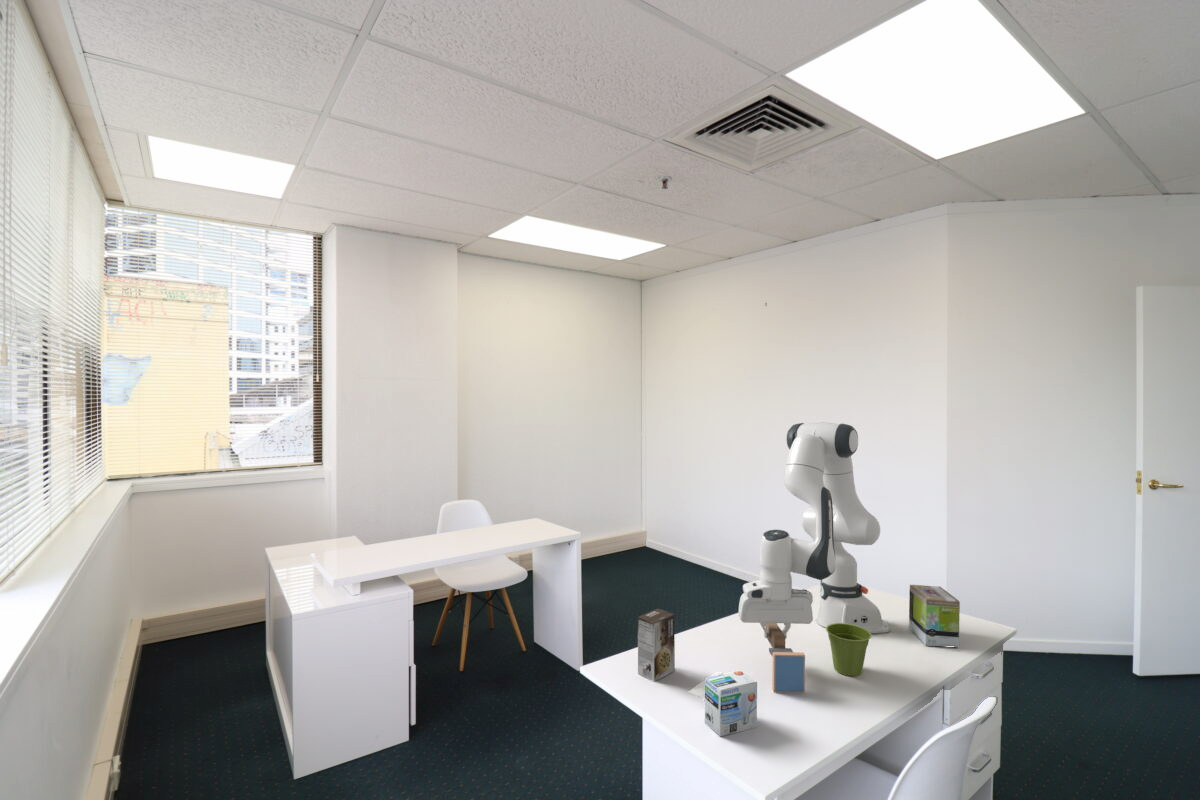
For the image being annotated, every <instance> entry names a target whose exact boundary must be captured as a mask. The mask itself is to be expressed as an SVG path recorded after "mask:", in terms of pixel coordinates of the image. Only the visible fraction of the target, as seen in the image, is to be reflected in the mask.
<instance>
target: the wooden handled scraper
mask: <svg viewBox="0 0 1200 800" xmlns="http://www.w3.org/2000/svg"><path fill="white" fill-rule="evenodd" d="M765 628H766V630H769V631H770V632H771V635H770V636H771V638H766V639H767V640H768V642H769V644H770V646H771V647H769V648H768V652H769V654H770V655H771V657H772V658H773V652H794V651H793V649H792V648H790V647H789V648H788V647H786V639H785V635H784V634H783V632H782V631H781V630H782V629H781V628H780V626H779V625H778V623H767V626H766V627H765Z"/></svg>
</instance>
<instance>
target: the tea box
mask: <svg viewBox="0 0 1200 800" xmlns="http://www.w3.org/2000/svg"><path fill="white" fill-rule="evenodd" d="M908 603H909V604H908V605H909V607H908V610H909V611H908V613H909V615H908V627H909V629H910V630H911V631H912V632H913V633H914V634H915V635H916V637H918V638H919V640H920V641H921V642H922V644H924V645H925V646H926V645H927V647H935V646H954V647H958V648H959V646H960V612H961V611H960V610H961V609H960V607H961V602H960V600H959V599H957V598H956V597H955V596H954V595H952V594H951V593H950V592H948V591H947V590H946V589H944V588H943V587H942V586H940V585H939V586H937V585H925V584H922V585H921V584H909V602H908Z"/></svg>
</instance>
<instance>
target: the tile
mask: <svg viewBox="0 0 1200 800" xmlns="http://www.w3.org/2000/svg"><path fill="white" fill-rule="evenodd" d="M771 662H772V664H771V665H772V670H771V671H772V673H771V674H772V676H771V677H772V681H771V682H772V683H771V685H772V687H771V688H772V692H773V694H774V693H775V692H777V693H778V692H780V693H778V694H805V693H806V654H805V653H804V652H801V651H799V652H795V651H793V652H773V657H772V661H771ZM788 692H789V693H788ZM777 693H775V694H777Z"/></svg>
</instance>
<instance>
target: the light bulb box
mask: <svg viewBox="0 0 1200 800" xmlns="http://www.w3.org/2000/svg"><path fill="white" fill-rule="evenodd" d="M710 676H711V675H710ZM710 676H707V677H705V679H704V680H705V698H704V723H706V724H707V726H708V727H709V728H710V729H711V730H713V731H714V732H715V733H716V734H717V735H718V736H719V737H724V736H728V735H730V734H736V733H738V732H739V733H740V732H743V731H746V730H750V729H751V730H752V729H754V728H757V727H758V726H757V723H758V722H757V721H758V720H757V719H758V714H757V713H758V711H757V710H758V681H757V680H755V679H754V678H752V677H751V676H749V675H748V674H747V673H746V672H744V671H743V670H742V669H738V670H734V671H729V672H725V673H724V672H723V674H720V675H715V676H711V677H710Z"/></svg>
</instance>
